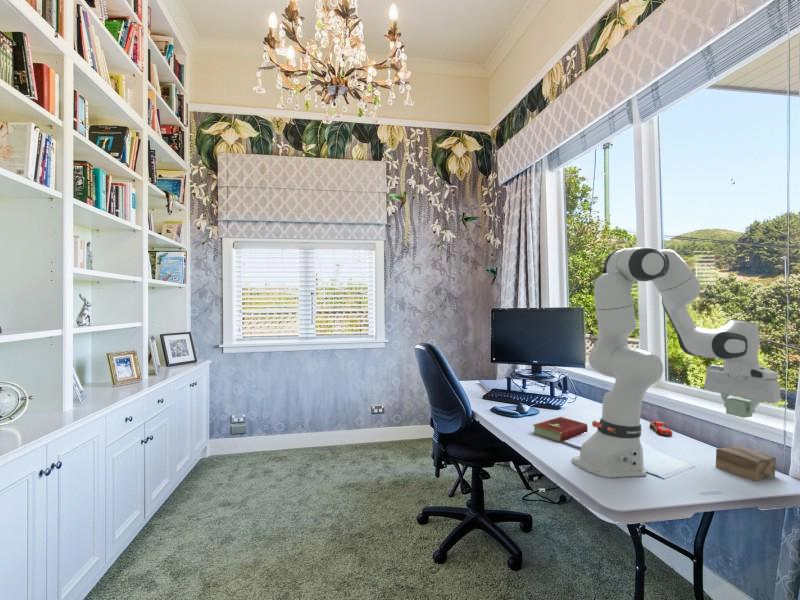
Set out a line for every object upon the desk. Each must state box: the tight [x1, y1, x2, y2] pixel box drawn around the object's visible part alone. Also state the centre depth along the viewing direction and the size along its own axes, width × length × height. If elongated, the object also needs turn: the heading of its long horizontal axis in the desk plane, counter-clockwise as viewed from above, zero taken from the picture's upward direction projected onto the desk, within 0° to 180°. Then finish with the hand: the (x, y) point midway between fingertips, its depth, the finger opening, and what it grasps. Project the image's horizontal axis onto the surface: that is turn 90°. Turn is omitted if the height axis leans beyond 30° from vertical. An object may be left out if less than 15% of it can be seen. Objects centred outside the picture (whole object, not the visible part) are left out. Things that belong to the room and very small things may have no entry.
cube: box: [725, 397, 753, 419], centre depth 135 cm, size 5×5×5 cm
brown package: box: [715, 445, 777, 482], centre depth 132 cm, size 11×11×6 cm
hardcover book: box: [532, 416, 589, 443], centre depth 164 cm, size 12×21×4 cm, turn 129°
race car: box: [649, 420, 673, 437], centre depth 171 cm, size 13×5×4 cm, turn 165°
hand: (739, 410), depth 135 cm, fingers closed on cube, 5 cm apart
